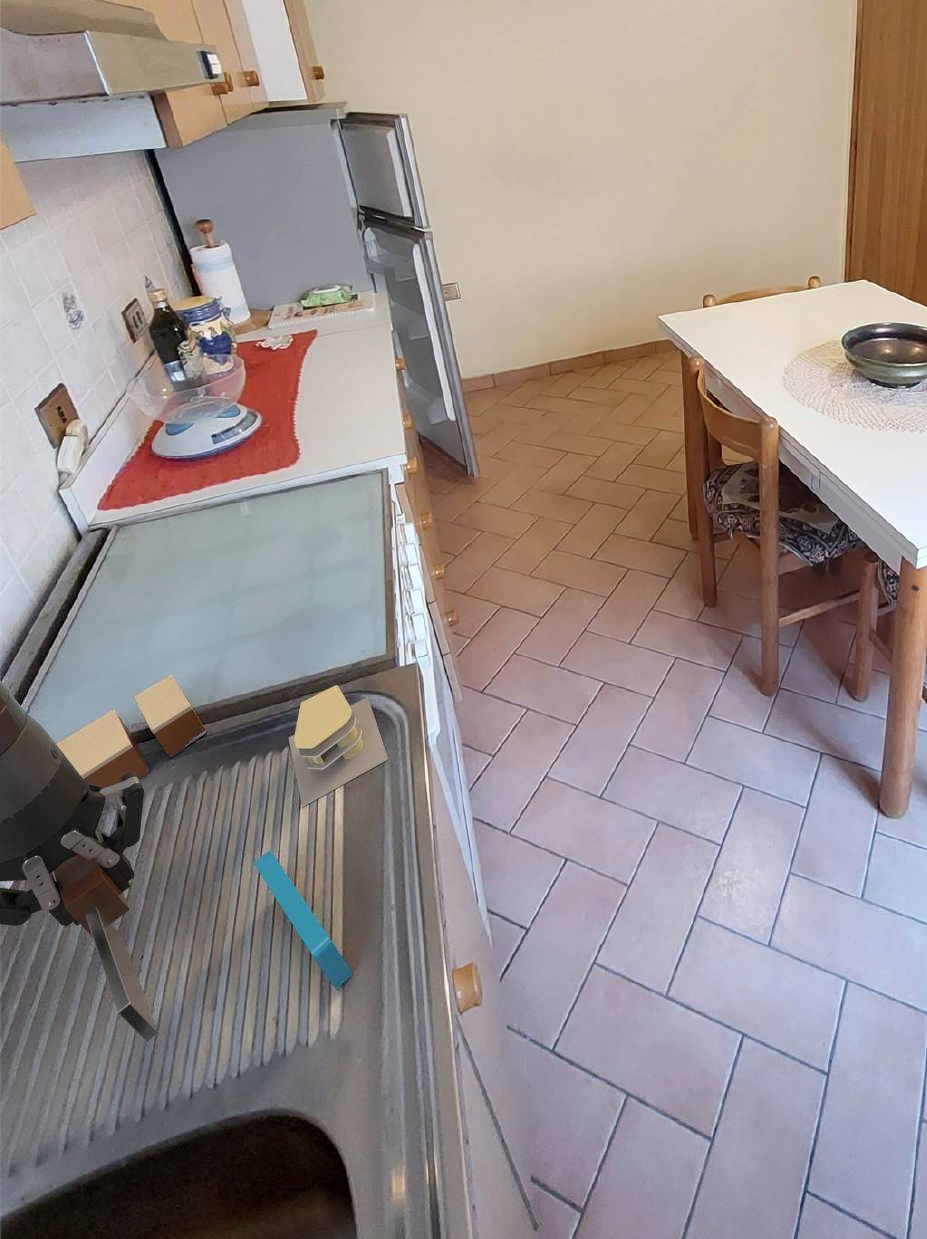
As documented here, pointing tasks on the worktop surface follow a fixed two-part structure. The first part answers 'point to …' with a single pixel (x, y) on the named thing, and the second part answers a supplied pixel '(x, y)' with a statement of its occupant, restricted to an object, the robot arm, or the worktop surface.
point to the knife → (106, 935)
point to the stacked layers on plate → (333, 743)
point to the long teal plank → (303, 920)
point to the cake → (104, 751)
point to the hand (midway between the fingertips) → (101, 898)
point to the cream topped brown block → (169, 715)
